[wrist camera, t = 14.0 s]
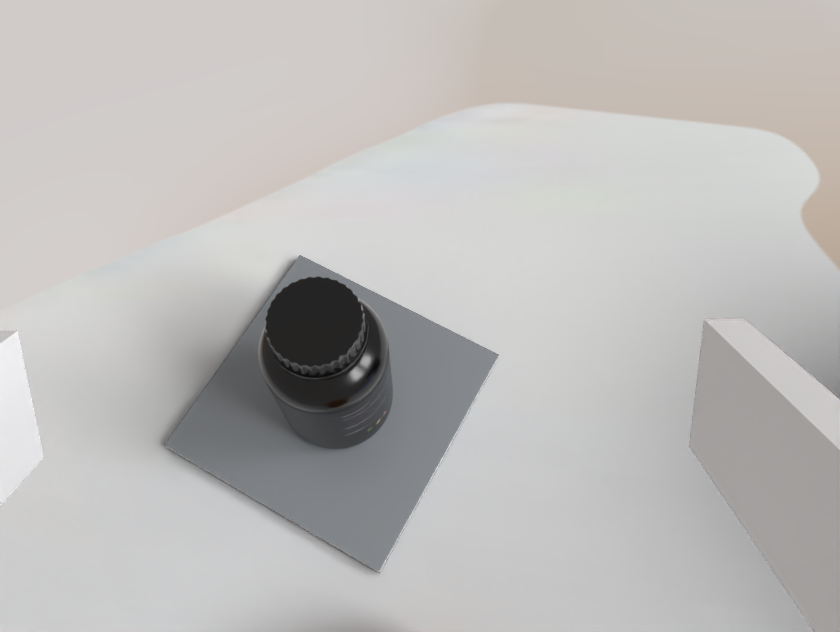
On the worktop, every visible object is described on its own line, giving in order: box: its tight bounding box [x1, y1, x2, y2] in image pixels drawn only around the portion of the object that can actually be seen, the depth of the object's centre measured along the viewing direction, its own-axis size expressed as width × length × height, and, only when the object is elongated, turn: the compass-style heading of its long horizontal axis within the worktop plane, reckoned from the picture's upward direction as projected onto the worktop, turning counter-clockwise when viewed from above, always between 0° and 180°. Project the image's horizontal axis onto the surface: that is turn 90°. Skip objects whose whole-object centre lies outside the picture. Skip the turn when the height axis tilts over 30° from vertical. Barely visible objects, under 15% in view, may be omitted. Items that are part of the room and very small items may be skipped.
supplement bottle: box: [258, 276, 393, 449], centre depth 42 cm, size 7×7×12 cm
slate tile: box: [164, 255, 499, 573], centre depth 48 cm, size 15×15×1 cm
